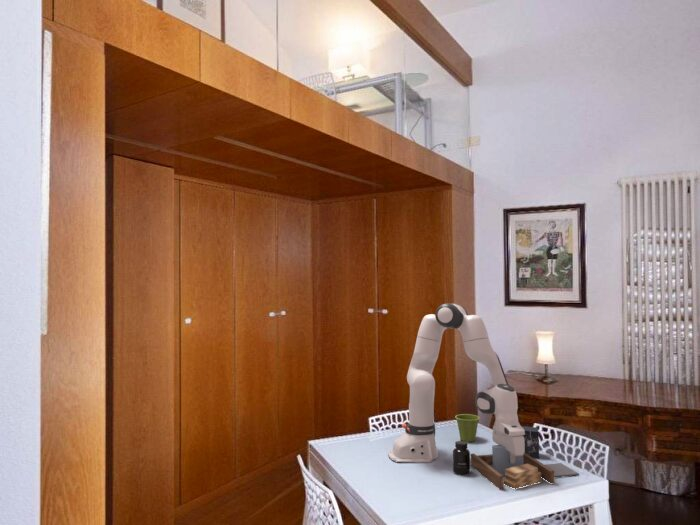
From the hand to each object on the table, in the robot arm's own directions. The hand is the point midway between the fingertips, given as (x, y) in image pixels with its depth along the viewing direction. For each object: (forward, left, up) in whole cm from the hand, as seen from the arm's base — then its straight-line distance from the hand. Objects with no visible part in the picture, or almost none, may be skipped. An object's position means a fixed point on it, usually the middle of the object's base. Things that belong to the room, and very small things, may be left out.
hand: (508, 460), depth 203 cm
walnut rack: (0, -2, -5) cm, 6 cm away
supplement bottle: (-18, +5, -5) cm, 19 cm away
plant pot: (+2, +44, -5) cm, 44 cm away
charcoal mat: (+19, -3, -5) cm, 20 cm away
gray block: (0, 0, -5) cm, 5 cm away
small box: (+17, +18, -5) cm, 25 cm away
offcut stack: (0, -11, -5) cm, 12 cm away
